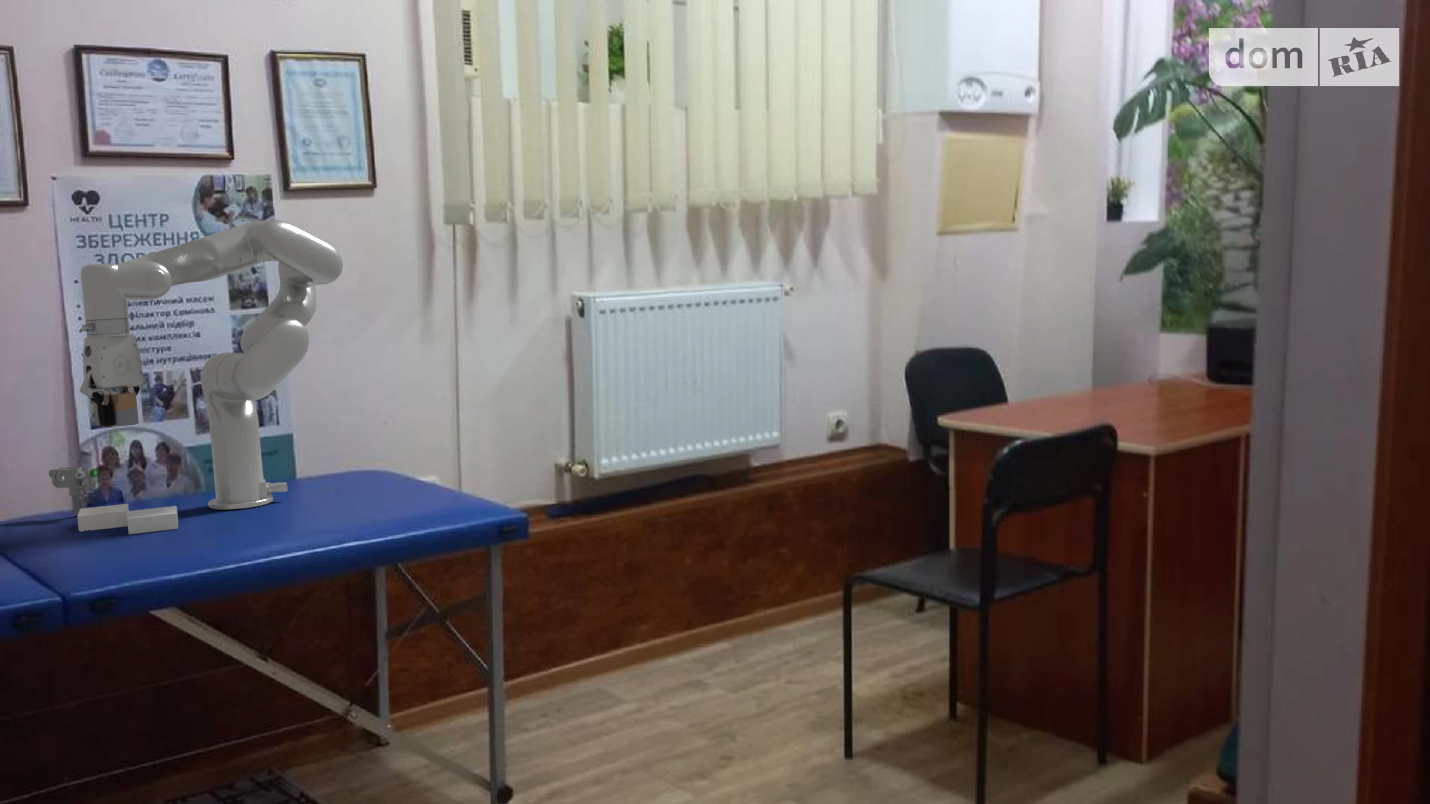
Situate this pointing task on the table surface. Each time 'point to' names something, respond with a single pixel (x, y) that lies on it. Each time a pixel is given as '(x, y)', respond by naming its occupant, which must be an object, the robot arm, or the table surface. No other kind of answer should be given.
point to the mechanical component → (74, 482)
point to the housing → (121, 408)
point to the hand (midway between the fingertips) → (117, 422)
